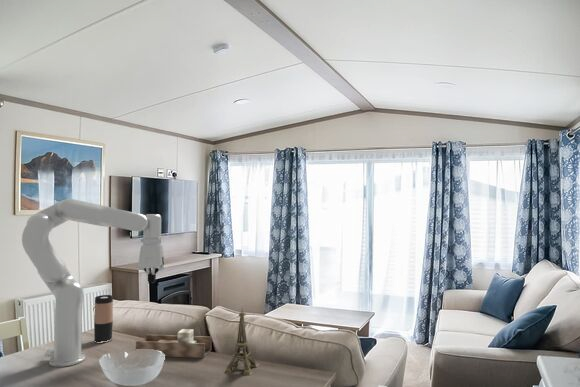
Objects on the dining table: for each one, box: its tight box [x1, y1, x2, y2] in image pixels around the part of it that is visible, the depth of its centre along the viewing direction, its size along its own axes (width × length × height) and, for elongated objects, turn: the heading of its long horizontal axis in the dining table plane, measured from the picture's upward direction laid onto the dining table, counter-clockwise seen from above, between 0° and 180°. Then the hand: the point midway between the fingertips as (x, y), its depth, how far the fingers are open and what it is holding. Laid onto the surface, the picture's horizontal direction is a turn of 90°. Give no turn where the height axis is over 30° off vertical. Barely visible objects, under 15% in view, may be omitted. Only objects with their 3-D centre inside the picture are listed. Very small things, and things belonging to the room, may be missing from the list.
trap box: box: [135, 334, 212, 359], centre depth 170 cm, size 29×10×6 cm, turn 84°
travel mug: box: [93, 294, 114, 342], centre depth 185 cm, size 8×8×20 cm
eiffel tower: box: [222, 309, 260, 376], centre depth 153 cm, size 11×11×25 cm
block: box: [177, 328, 195, 343], centre depth 169 cm, size 5×5×5 cm
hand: (151, 283), depth 180 cm, fingers closed
